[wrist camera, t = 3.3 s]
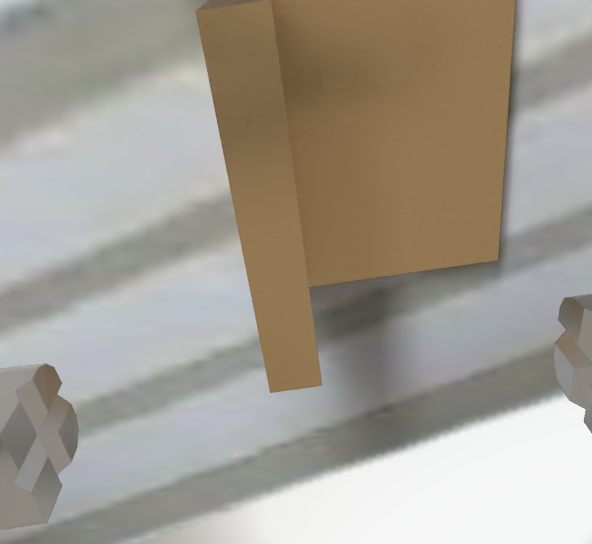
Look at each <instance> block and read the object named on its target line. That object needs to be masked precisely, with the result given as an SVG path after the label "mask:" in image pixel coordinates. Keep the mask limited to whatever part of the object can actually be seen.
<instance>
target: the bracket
mask: <svg viewBox="0 0 592 544" xmlns="http://www.w3.org/2000/svg"><path fill="white" fill-rule="evenodd" d="M514 13H515V0H209V1H208V2H207V3H205V4H204V5H203V6H201V7H200V8H199V9H197V10H196V16H197V21H198V26H199V31H200V36H201V41H202V46H203V51H204V56H205V62H206V67H207V72H208V77H209V82H210V87H211V92H212V97H213V102H214V108H215V113H216V118H217V123H218V128H219V133H220V138H221V143H222V148H223V154H224V159H225V164H226V169H227V174H228V179H229V184H230V189H231V194H232V200H233V205H234V210H235V215H236V220H237V225H238V230H239V235H240V240H241V245H242V251H243V256H244V261H245V266H246V271H247V276H248V281H249V286H250V291H251V297H252V302H253V307H254V312H255V317H256V322H257V327H258V332H259V337H260V343H261V348H262V353H263V358H264V363H265V368H266V373H267V378H268V383H269V389H270V393H273V392H280V391H287V390H294V389H301V388H308V387H315V386H322V381H321V374H320V366H319V359H318V351H317V344H316V336H315V329H314V321H313V313H312V306H311V298H310V291H309V287H313V286H320V285H327V284H334V283H342V282H349V281H356V280H363V279H370V278H377V277H384V276H391V275H398V274H405V273H412V272H419V271H426V270H433V269H440V268H447V267H454V266H462V265H469V264H476V263H483V262H490V261H497V260H498V254H499V239H500V224H501V209H502V194H503V178H504V163H505V148H506V133H507V118H508V103H509V88H510V73H511V58H512V43H513V28H514Z"/></svg>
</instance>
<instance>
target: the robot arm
mask: <svg viewBox="0 0 592 544" xmlns="http://www.w3.org/2000/svg"><path fill="white" fill-rule="evenodd" d="M558 320H559V322H560V323H561V324H562V325H563V327H564V328H565V329H566V331H565V332H564V333H563V334H562V335H561V337H560V338H559V339H558V340H557V341H556V342H555V348H554V359H553V360H554V366H555V372H556V377H557V379H558V382H559V384H560V386H561V389H562V390H563V392H564V393H565V395H566V396H567V398H568V399H569V401H571V402H573V403H575V404H577V405H579V406H581V407H582V408H585V409H586V411H585V417H584V423H585V424H586V426H587V427H588V428H589V430H590V431H591V433H592V294H588V295H581V296H573V297H566V298H564V300H563V302H562V304H561V306H560V311H559V317H558ZM61 384H62V382H61V380H60V378H59V376H58V374H57V372H56V370H55V368H54V367H52V366H50V365H48V364H37V365H28V366H18V367H9V368H0V530H3V529H9V528H16V527H23V526H29V525H36V524H43V523H47V522H48V520H49V517H50V515H51V512H52V510H53V507H54V505H55V502H56V500H57V497H58V495H59V492H60V490H61V487H62V484H61V482H60V479H59V477H58V474H59V473H60V472H61V471H62V470H63V469H64V468H65V467H67V466H68V465H69V464H70V463H71V462H72V460H73V457H74V454H75V452H76V449H77V443H78V431H79V429H78V423H77V418H76V414H75V412H74V409H73V407H72V405H71V403H69V402H68V401H66V400H65V399H63V398H62V397H60V396H59V395H57V394H58V391H59V389H60V387H61Z"/></svg>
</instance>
